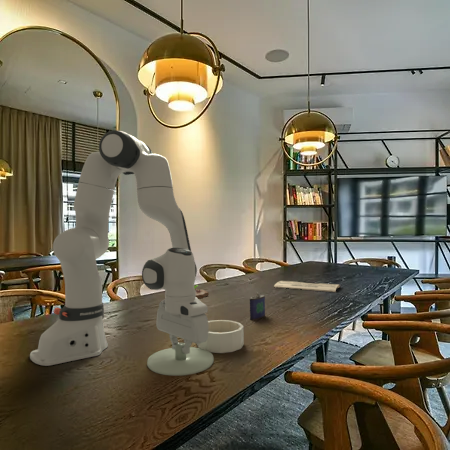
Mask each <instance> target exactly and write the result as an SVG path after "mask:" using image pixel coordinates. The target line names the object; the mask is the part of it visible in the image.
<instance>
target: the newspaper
mask: <svg viewBox="0 0 450 450" xmlns="http://www.w3.org/2000/svg"><path fill="white" fill-rule="evenodd" d="M273 287H275V288H276V289H286V288H289V289H288V290H300V289H302V291H317V292H327V293H328V292H329V293H337V291H336V290H337V289H339V288H340V287H341V285H340V284H338V283H337V284H336V283H321V282H320V283H319V282H305V281H290V280H279V281H277V282H276V283H274V285H273Z"/></svg>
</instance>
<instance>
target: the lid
mask: <svg viewBox="0 0 450 450" xmlns="http://www.w3.org/2000/svg"><path fill="white" fill-rule="evenodd" d="M184 345H185V343H184V342H178V343H177V344H175V350H174V349H172V347H168V348H165V349H161V350H159V351H156V352H154V353H152V354H151V355H150V356H149V357H148V358H147V361H146V362H147V363H146V364H147V368H148V369H149V370H150V371H152V372H153V373H156V374H160V375H164V376H173V377H174V376H179V377H180V376H189V375H193V374H197V373H198V374H199V373H200V372H203V371H205V370H208V369H210V367H212V366H213V364H214V355H213V353H212V352H209V351H207V350H204V349H200V348H198V347H194V346H190V353H189V354H184V353H182V347H184Z"/></svg>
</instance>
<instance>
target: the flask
mask: <svg viewBox="0 0 450 450" xmlns="http://www.w3.org/2000/svg"><path fill="white" fill-rule="evenodd" d="M265 316H266V296H265V295H261V292H260V293H259V292H256V294H255V296H251V297H249V317H250V319H249V320H250V321H257V320H260V319H262V318H265Z"/></svg>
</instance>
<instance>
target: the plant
mask: <svg viewBox="0 0 450 450" xmlns="http://www.w3.org/2000/svg"><path fill="white" fill-rule="evenodd" d="M198 286H199V285H198V284H197V285H194V288H195V292H196V297H197V298H199V299H203V297H204V298H205V296H206V297H209V296H210V294H209V292H208V291H207V290H205V289H197V287H198ZM208 295H209V296H208Z"/></svg>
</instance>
